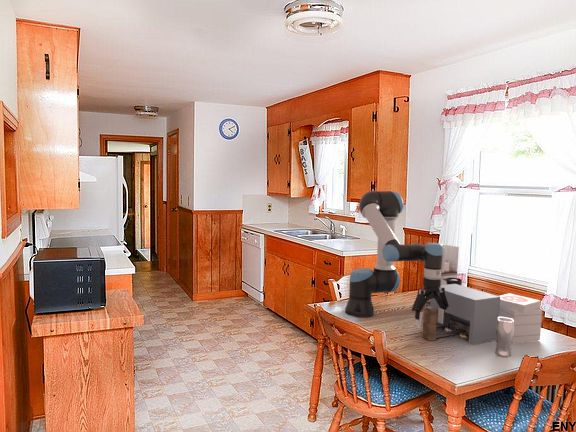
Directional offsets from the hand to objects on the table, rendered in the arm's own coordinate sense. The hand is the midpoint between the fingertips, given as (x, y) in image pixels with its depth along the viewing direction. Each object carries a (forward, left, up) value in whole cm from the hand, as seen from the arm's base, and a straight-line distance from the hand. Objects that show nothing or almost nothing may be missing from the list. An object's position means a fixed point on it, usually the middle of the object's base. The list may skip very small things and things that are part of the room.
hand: (429, 324), depth 206 cm
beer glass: (+26, +16, -7) cm, 31 cm away
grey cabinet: (0, +21, -7) cm, 22 cm away
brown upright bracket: (0, +11, -6) cm, 13 cm away
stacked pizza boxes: (+8, +41, -7) cm, 42 cm away
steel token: (-5, +18, -7) cm, 20 cm away
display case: (-37, +45, -7) cm, 59 cm away
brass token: (+4, +18, -7) cm, 20 cm away
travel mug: (-21, +37, -7) cm, 43 cm away
